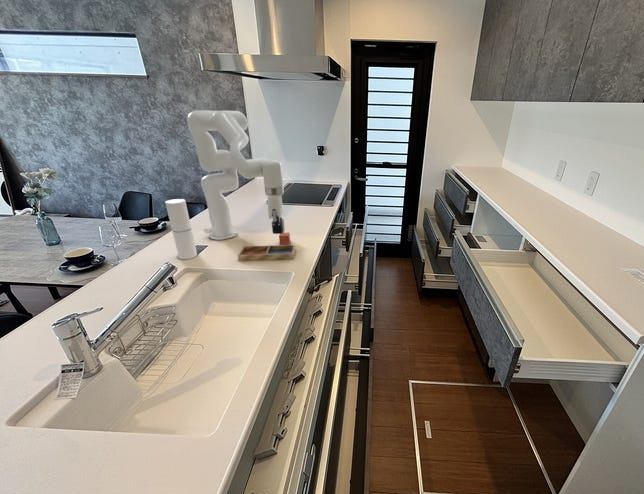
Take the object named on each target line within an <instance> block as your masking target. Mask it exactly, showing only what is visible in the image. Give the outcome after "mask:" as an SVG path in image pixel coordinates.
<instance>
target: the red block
mask: <svg viewBox="0 0 644 494" xmlns="http://www.w3.org/2000/svg"><path fill="white" fill-rule="evenodd" d="M278 240H279V245H291V233H290V232H284V233H281V234H278Z"/></svg>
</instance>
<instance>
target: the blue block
mask: <svg viewBox="0 0 644 494" xmlns="http://www.w3.org/2000/svg"><path fill="white" fill-rule="evenodd" d="M277 220H278V219H277ZM280 225H281V231H282V233H285V228H286V227H285V219H283V218H282V219H280ZM271 229H272V230H271V231H272V234H273V235H275V234H274V230H273V220H272V221H271Z"/></svg>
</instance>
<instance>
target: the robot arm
mask: <svg viewBox="0 0 644 494" xmlns="http://www.w3.org/2000/svg"><path fill="white" fill-rule="evenodd" d="M186 122H187V127H188V130H189V133H190V134H191V137H192V138H193V142H194V144H195V145H194V146H195V149H196V154H197V157H198V162H199V166H200V168H201V169H202V170H203V171H205V172H208V173H209V172H210V173H211V172H219V171H221V172H219V173H211V174H207V175H205V176H203V177H202V178H201V180H200V186H201V189H202V192H203V194H204V197H205V201H206V206H207V210H208V215H209V221H210V227H204V228H203V232H204V233H205V234H209V238H210V239H211V240H216V241H222V240H223V241H224V240H228V239H232V238H234V237H236V236H237V231H236V230H235V229H233V223H232V218H231V212H230V205H229V201H228V200H227V198H226V197H225V196H224V195H223V194H224V193H229V192H233V191H236V190H238V188H239V187H240V186H239V185H240V184H239V181H240V180H239V176H238V174H239V175H240V176H242V177H243V178H245V179H248V180H249V179H250V180H251V179H255V178H263V184H264V185H263V186H264V192H265V193H264V195H265V196H267V213H268V215H267V216H268V219H270V220H272V221H273V230H274V234H273V235H280V234H281V233H282V231H281V225H280V219H283V214H284V203H283V195H285V191H284V180H283V170H282V162H281V161H280V160H277V159H270V158H267V157H257V158H256V157H255V158H247V159H246V158H245V157H244V155H243V154H242V152H241V150H243V149H244V148H245V147H246V146H247V145H248V144H249V140H250V138H249V136H248V134H247V133H246V132H245V131H246V130H247V129H248V126H249V122H248V119H247V117H246V115H245V114H244V113H243V112H241V111H239V110H208V109H205V110H204V109H200V110H193V111H191V112H190V113H189V114H188V116H187V121H186ZM210 132H219V134H220V135H221V136H222V138H223V139H224V141H226V143H227V144H228V145H229V146H230V147H229V150H228V149H217V143H216V140H215V139H214V137H213V135H212V134H211V133H210ZM277 219H278V220H277Z"/></svg>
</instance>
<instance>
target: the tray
mask: <svg viewBox="0 0 644 494" xmlns="http://www.w3.org/2000/svg"><path fill="white" fill-rule="evenodd" d="M295 252H296V245H295V244H290V245H280V244H277V245H246V246H245V245H244V246H243V247H242V248H241V250H240V252H239V253H238V255H237V259H238V261H239V262H243V261H244V262H247V261H275V260H277V261H278V260H294V257H295V254H296V253H295Z"/></svg>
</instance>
